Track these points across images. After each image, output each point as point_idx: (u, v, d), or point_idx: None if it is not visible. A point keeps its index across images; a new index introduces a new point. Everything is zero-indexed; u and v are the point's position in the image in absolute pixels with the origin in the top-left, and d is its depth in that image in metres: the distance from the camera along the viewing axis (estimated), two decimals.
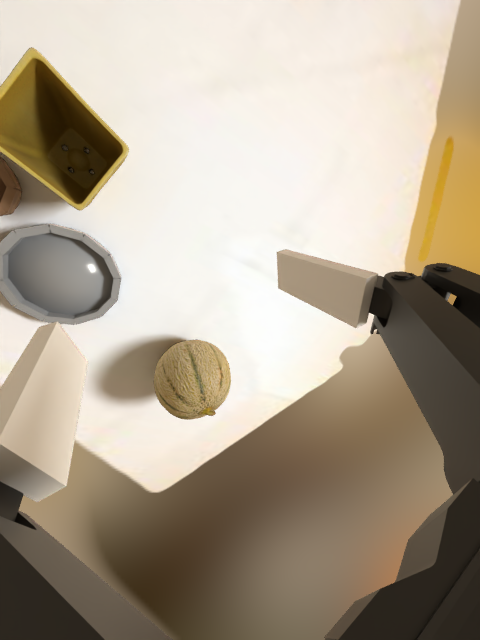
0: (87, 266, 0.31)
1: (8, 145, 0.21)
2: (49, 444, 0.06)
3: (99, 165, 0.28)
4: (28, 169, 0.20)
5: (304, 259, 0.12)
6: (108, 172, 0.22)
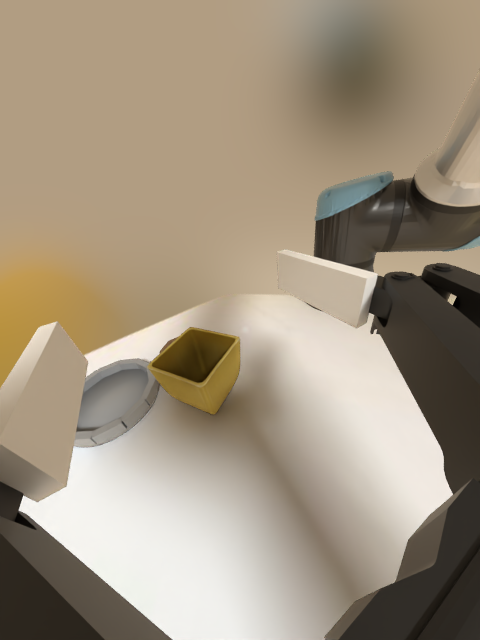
0: (118, 411, 0.30)
1: (194, 348, 0.32)
2: (49, 444, 0.06)
3: None
4: (173, 343, 0.28)
5: (304, 259, 0.12)
6: (178, 377, 0.23)
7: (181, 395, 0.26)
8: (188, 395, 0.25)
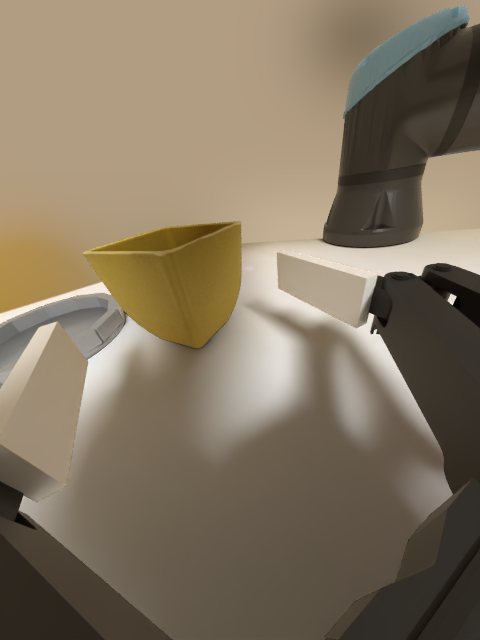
0: None
1: None
2: (49, 444, 0.06)
3: None
4: (136, 236, 0.18)
5: (304, 259, 0.12)
6: (128, 251, 0.13)
7: (142, 306, 0.15)
8: (150, 298, 0.14)
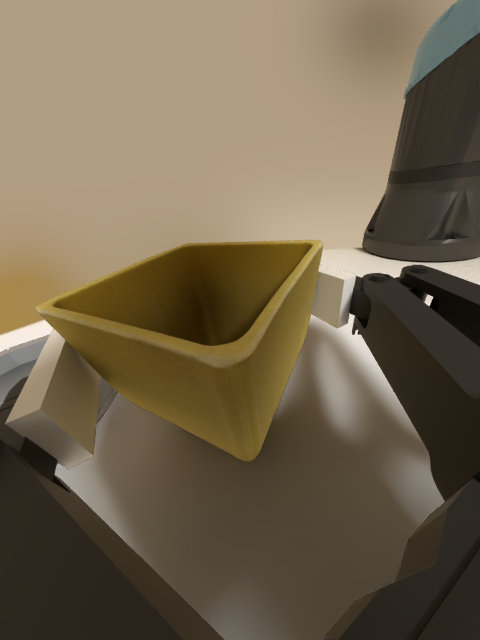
0: None
1: (195, 295, 0.14)
2: (78, 418, 0.07)
3: None
4: (139, 263, 0.11)
5: None
6: (125, 327, 0.05)
7: (152, 403, 0.08)
8: (171, 405, 0.07)
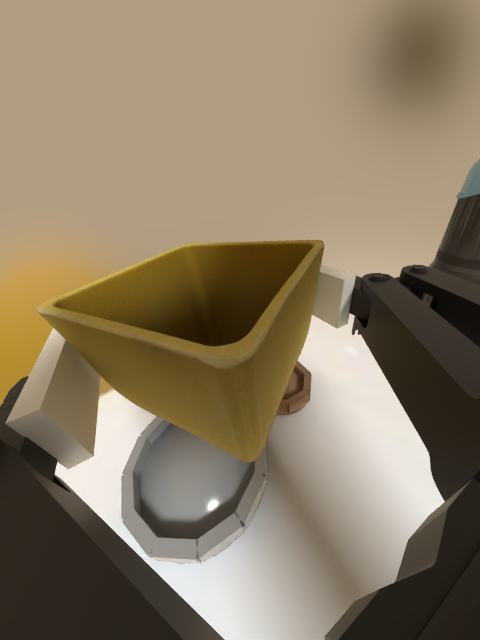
0: (217, 488, 0.19)
1: (196, 295, 0.14)
2: (78, 418, 0.07)
3: None
4: (140, 263, 0.11)
5: None
6: (126, 327, 0.05)
7: (153, 404, 0.08)
8: (173, 405, 0.07)
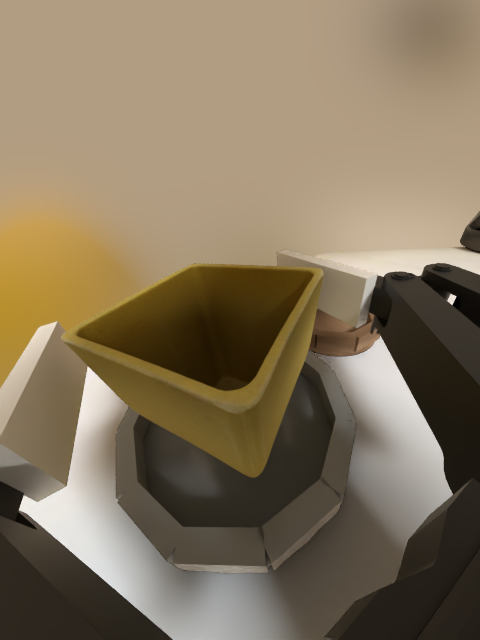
0: None
1: (202, 312, 0.15)
2: (49, 444, 0.06)
3: None
4: (151, 286, 0.11)
5: (304, 259, 0.12)
6: (147, 365, 0.06)
7: (165, 422, 0.09)
8: (184, 427, 0.08)
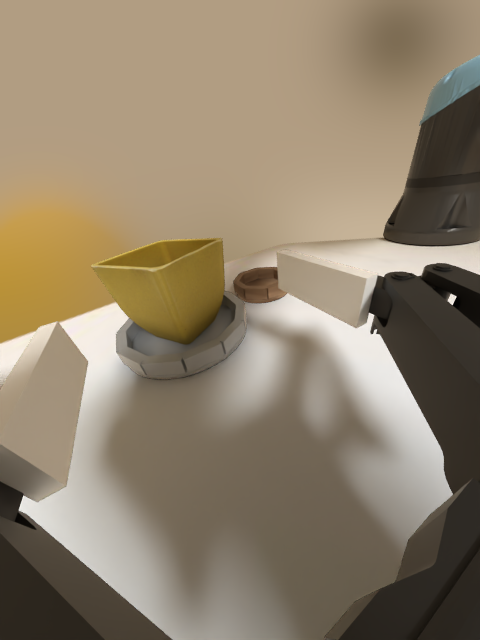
0: (201, 339, 0.22)
1: None
2: (49, 444, 0.06)
3: None
4: (134, 249, 0.21)
5: (304, 259, 0.12)
6: (128, 266, 0.16)
7: (139, 309, 0.19)
8: (146, 303, 0.17)
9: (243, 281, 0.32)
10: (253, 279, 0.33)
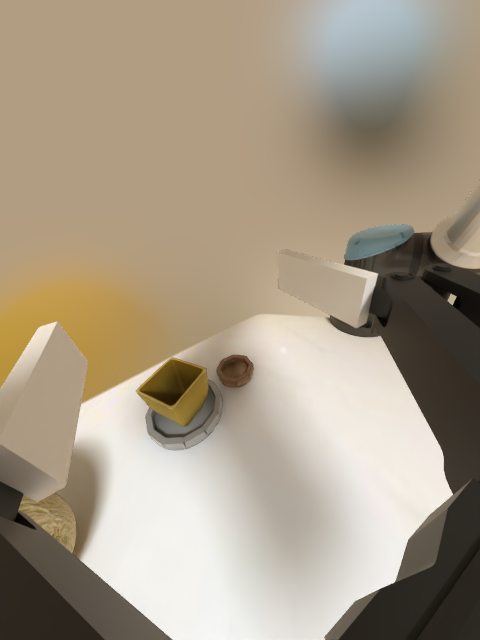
0: (195, 421, 0.38)
1: (175, 373, 0.41)
2: (49, 444, 0.06)
3: None
4: (157, 371, 0.37)
5: (304, 259, 0.12)
6: (157, 400, 0.32)
7: (161, 412, 0.35)
8: (165, 413, 0.34)
9: (224, 366, 0.48)
10: (231, 362, 0.49)
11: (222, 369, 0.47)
